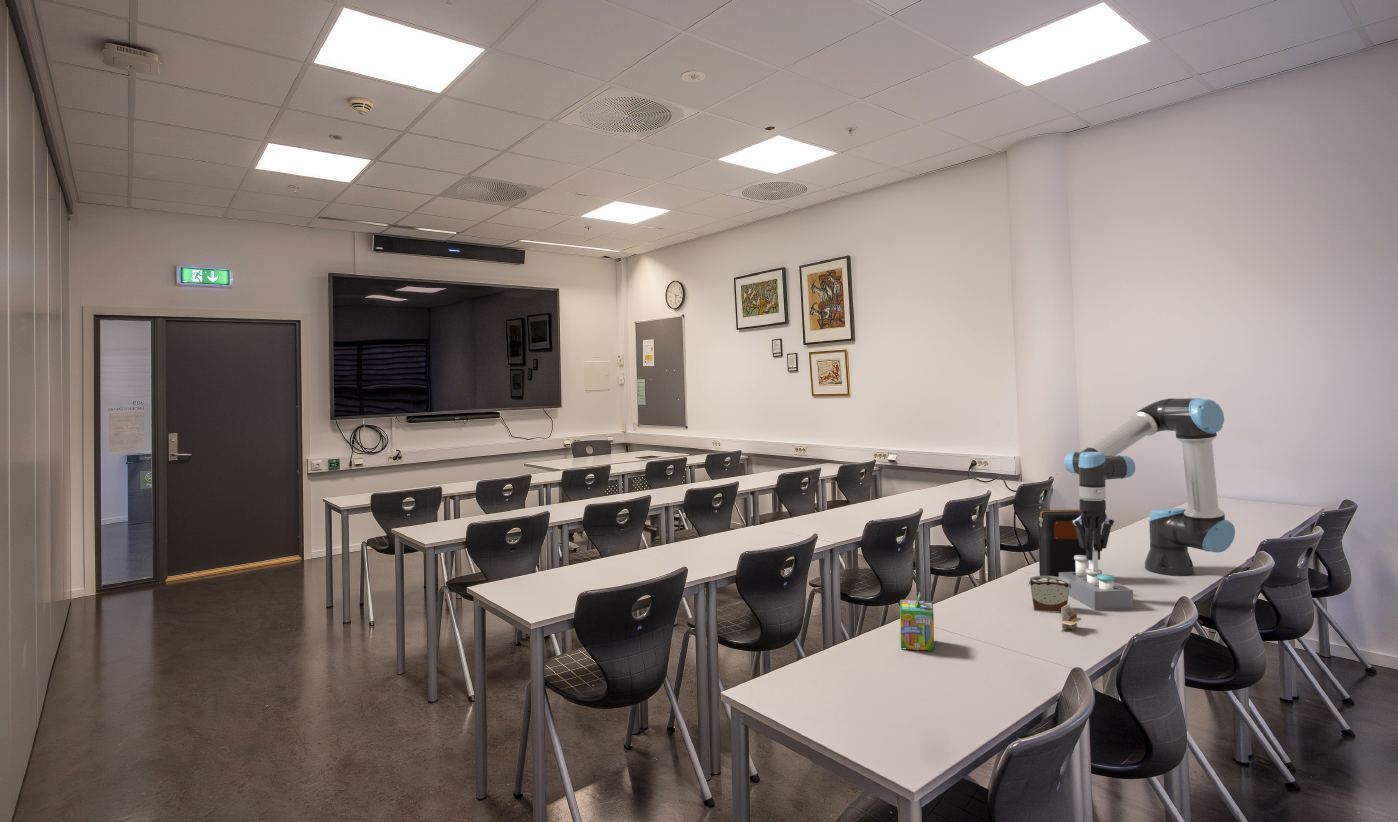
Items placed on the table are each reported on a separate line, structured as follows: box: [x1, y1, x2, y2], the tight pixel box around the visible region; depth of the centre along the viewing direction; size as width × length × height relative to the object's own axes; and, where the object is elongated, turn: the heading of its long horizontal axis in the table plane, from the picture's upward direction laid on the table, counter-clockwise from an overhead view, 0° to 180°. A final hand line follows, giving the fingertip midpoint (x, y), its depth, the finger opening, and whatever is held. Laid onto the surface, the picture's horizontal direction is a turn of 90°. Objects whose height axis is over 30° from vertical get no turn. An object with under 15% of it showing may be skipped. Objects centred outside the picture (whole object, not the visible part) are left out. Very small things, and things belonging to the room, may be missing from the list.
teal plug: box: [1097, 573, 1116, 590], centre depth 220 cm, size 5×5×8 cm
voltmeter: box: [1037, 509, 1086, 577], centre depth 250 cm, size 16×9×25 cm, turn 84°
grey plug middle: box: [1085, 568, 1103, 583], centre depth 227 cm, size 5×5×8 cm
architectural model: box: [1060, 602, 1083, 632], centre depth 200 cm, size 3×7×8 cm, turn 129°
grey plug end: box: [1074, 555, 1089, 577], centre depth 234 cm, size 5×5×8 cm
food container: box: [1027, 575, 1072, 614], centre depth 219 cm, size 12×6×10 cm, turn 71°
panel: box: [1059, 572, 1134, 611], centre depth 227 cm, size 12×22×6 cm, turn 179°
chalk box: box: [899, 591, 935, 652], centre depth 194 cm, size 9×9×15 cm
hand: (1093, 569), depth 227 cm, fingers closed
